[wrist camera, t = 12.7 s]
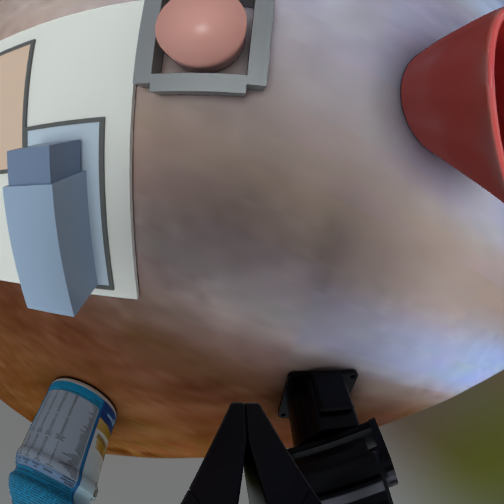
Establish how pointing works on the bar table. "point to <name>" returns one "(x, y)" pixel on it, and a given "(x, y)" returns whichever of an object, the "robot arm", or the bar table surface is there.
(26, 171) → the blue paint stick
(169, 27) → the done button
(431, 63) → the flower pot
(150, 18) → the button housing
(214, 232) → the bar table surface
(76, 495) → the beverage bottle
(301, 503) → the robot arm
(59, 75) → the white sorting board
